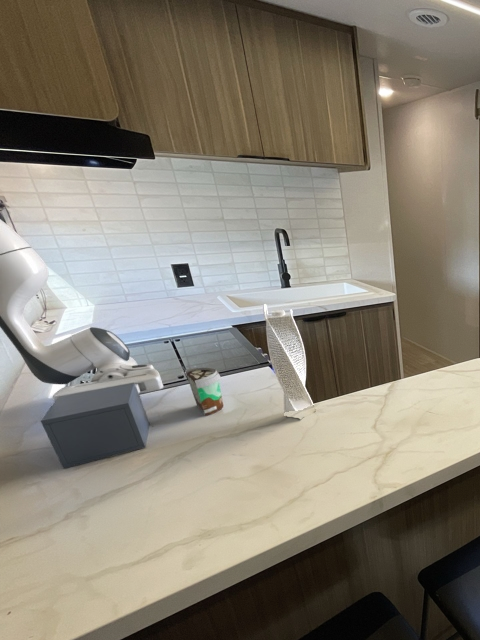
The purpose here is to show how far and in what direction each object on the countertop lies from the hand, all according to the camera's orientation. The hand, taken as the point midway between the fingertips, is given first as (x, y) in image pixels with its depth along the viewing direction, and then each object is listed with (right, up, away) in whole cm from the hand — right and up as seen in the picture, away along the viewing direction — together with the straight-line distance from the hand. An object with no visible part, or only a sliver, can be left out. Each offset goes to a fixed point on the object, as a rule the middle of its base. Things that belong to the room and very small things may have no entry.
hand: (108, 398), depth 97 cm
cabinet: (+8, -10, -7) cm, 14 cm away
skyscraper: (+44, -4, +5) cm, 44 cm away
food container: (+19, -3, +10) cm, 21 cm away
